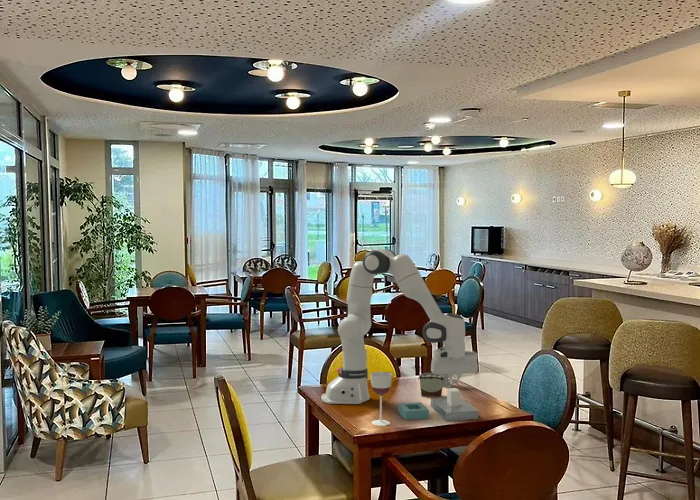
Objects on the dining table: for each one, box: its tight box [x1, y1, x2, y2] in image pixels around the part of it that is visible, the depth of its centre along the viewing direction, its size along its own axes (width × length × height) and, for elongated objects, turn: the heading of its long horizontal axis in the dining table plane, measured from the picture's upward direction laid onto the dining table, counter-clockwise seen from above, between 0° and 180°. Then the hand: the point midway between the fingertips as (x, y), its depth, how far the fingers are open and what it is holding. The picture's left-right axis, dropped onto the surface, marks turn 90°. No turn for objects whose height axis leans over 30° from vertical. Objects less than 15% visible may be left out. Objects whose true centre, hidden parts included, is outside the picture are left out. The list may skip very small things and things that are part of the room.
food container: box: [418, 372, 445, 398], centre depth 294 cm, size 12×6×10 cm, turn 84°
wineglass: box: [370, 371, 393, 427], centre depth 252 cm, size 8×9×20 cm
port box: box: [430, 397, 479, 422], centre depth 266 cm, size 14×20×4 cm
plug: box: [446, 387, 461, 407], centre depth 266 cm, size 4×5×10 cm
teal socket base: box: [397, 402, 430, 420], centre depth 263 cm, size 10×11×4 cm
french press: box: [441, 374, 453, 389], centre depth 311 cm, size 10×12×25 cm
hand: (454, 383), depth 266 cm, fingers closed
